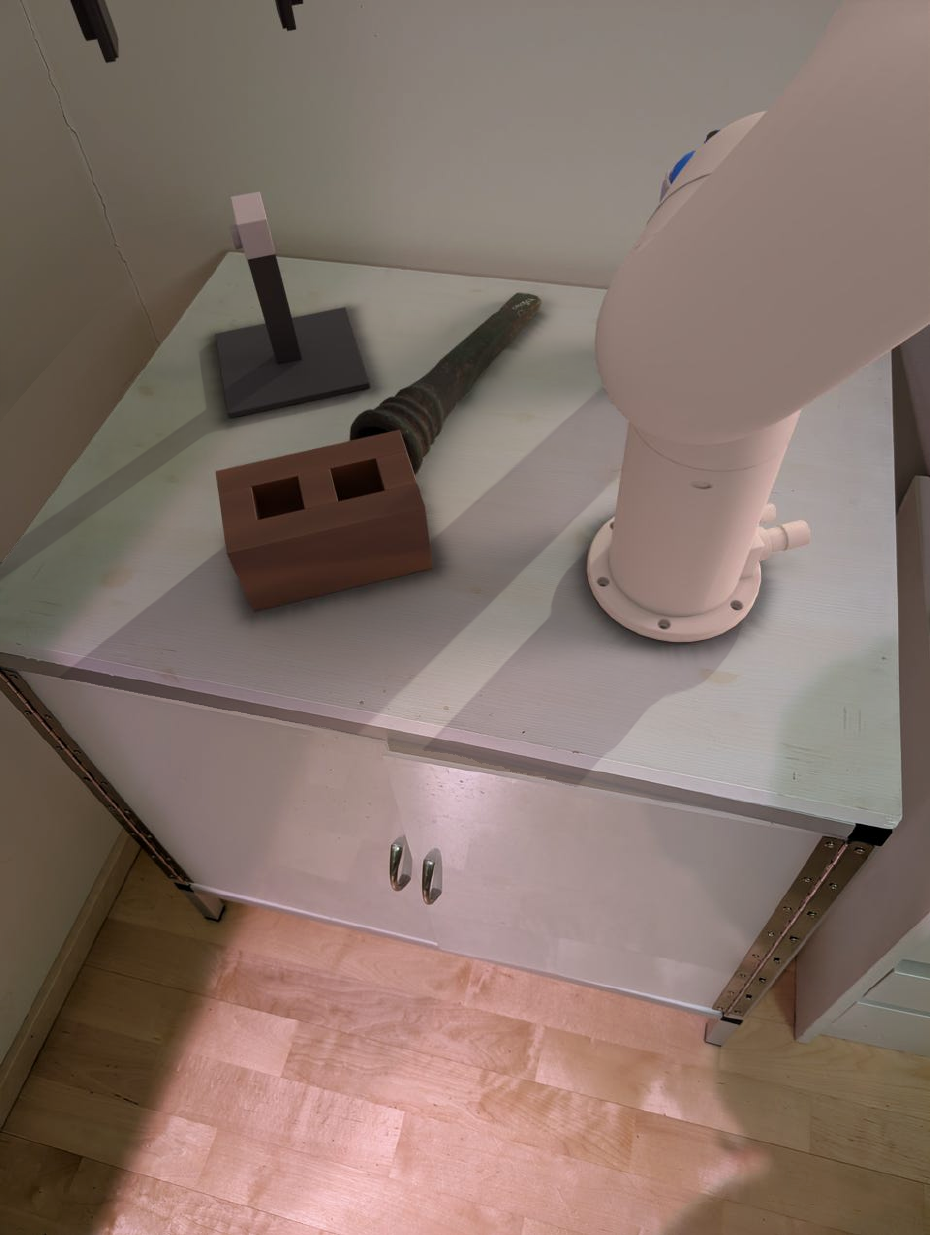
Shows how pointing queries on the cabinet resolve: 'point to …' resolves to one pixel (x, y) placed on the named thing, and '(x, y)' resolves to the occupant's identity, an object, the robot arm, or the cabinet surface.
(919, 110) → the robot arm
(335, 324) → the mat
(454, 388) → the tool
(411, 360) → the cabinet surface
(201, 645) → the cabinet surface
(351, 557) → the holder
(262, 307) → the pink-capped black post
